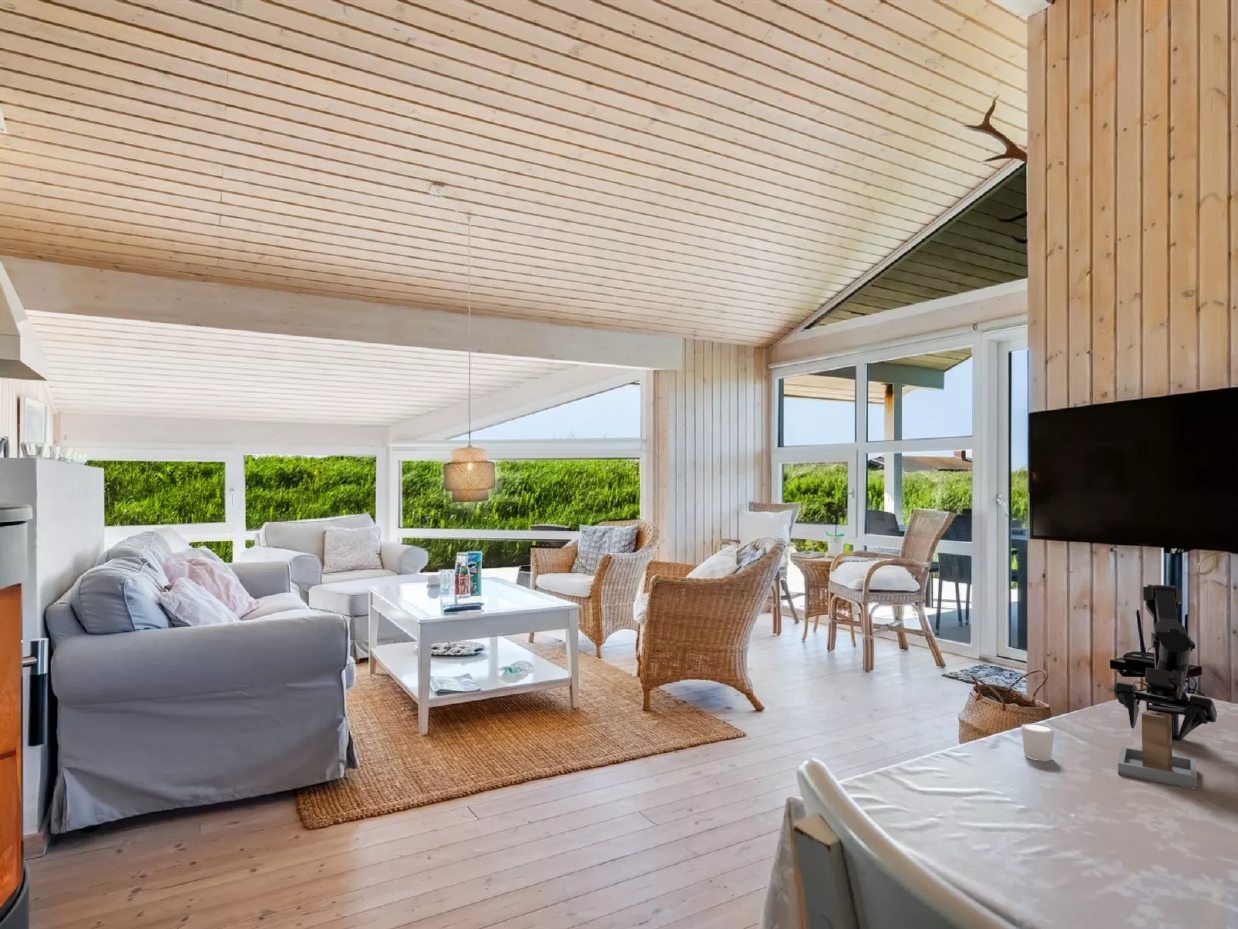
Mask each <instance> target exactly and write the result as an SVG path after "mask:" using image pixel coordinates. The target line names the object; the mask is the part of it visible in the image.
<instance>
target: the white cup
mask: <svg viewBox="0 0 1238 929" xmlns="http://www.w3.org/2000/svg"><path fill="white" fill-rule="evenodd" d="M1020 728H1021V736H1022V744H1023V753H1024V754H1025V755H1026V756H1028V757H1031V758H1033V759H1037V760H1042V761H1041V762H1050V761H1049V760H1051V761H1052V759H1053V756H1052V755H1053V747H1054V736H1055V729H1053V728H1052V727H1050V726H1047V725H1043V724H1038V723H1022V724H1021V725H1020ZM1025 755H1024V756H1025Z"/></svg>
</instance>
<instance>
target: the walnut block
mask: <svg viewBox="0 0 1238 929" xmlns="http://www.w3.org/2000/svg"><path fill="white" fill-rule="evenodd" d="M1141 747H1142V748H1141V750H1142V766H1144V767H1149V768H1155V769H1160V770H1165V771H1170V772H1171V771H1172V770H1173V769H1172V755H1173V739H1172V715H1171V714H1166V713H1161V712H1156V711H1151V710H1146V711H1143V712H1142V713H1141Z"/></svg>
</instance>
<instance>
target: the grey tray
mask: <svg viewBox="0 0 1238 929" xmlns="http://www.w3.org/2000/svg"><path fill="white" fill-rule="evenodd" d="M1119 753H1120V754H1119V756H1118V757H1119V758H1118V761H1117V774H1118V775H1120V776H1121V775H1122V776H1127V777H1131V778H1136V779H1140V780H1147V781H1151V782H1156V783H1162V784H1166V785H1170V784H1173V785H1172V786H1175V785H1179V786H1178V787H1180V786H1184V787H1183V788H1186V787H1188V788H1187V789H1191V788H1195V789H1194V790H1196V789H1197V790H1198V776H1197V759H1195V758H1189V757H1184V756H1178V755H1173V754H1172V769H1173V770H1172V771H1171V772H1170V771H1165V770H1160V769H1155V768H1149V767H1144V766H1142V749H1140V748H1133V747H1128V746H1123V745H1122V746H1121V749H1120V752H1119Z"/></svg>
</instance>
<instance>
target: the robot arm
mask: <svg viewBox="0 0 1238 929" xmlns="http://www.w3.org/2000/svg"><path fill="white" fill-rule="evenodd" d="M1141 588H1142V589H1141V596H1142V597H1141V599H1142V602H1145V605H1144V606H1145V610H1146V611H1147V612H1148V613H1149V615H1150V617H1151V618H1152V629H1153V630H1152V631H1153V632H1151V633H1150V646H1151V648H1153V652H1154V653H1153V654H1154V655H1153V656H1154V668H1151V667H1146V668H1145V675H1144V682H1145V683H1147V684H1146V687H1145V692H1144V691H1139V690H1138V688H1137V685H1136V684H1132V683H1126V682H1122V681H1119V682H1117V683H1115V685H1114V687H1113V691H1114V695H1115V696H1116V699H1117V701H1118V703H1119V704H1121V705H1123V706H1124V708H1126V709H1127V711H1128V718H1129V724H1130V728H1131V729H1135V727H1136V725H1137V720H1138V717H1139V713H1140V706H1139V705H1140V703H1141V701H1142V702H1144V703H1145V704H1144V706H1145V710H1146V711H1147V710H1151V711H1156V712H1161V713H1166V714H1171V715H1172V740H1179V741H1181V740H1183V739H1184V738H1185V737H1186V736H1187V735H1188V734H1189V733H1191V732H1192V731H1193V730H1195V729H1196V728H1197V727H1200V725H1203V724H1205V725H1207V724H1208V722H1209V723H1215V722H1216V721H1217V716H1218V712H1217V709H1216V706H1215V703H1214V701H1213V700H1212V698H1211V697H1210V698H1209V697H1203V696H1199V695H1193V694H1191V695H1190V696H1189V697H1188V695H1187V693H1186V691H1185V687H1184V686H1185V682H1186V679H1187V673H1188V672H1189V670H1188V669H1189V666H1190V662H1189V661H1190V656H1191V652H1193V650H1196V643H1195V642H1194V640H1192V639H1191V636H1189V635H1188V634H1187V630H1186V627H1185V626H1184V625H1182V624H1181V623H1180V622H1179V618H1178V613H1177V612H1178V609H1179V604H1182V602H1183V599H1182V598H1183V597H1182V588H1178V587H1176V586H1175V585H1170V584H1169V585H1168V584H1166V585H1165V584H1164V585H1163V584H1147V586H1143V587H1141ZM1180 715H1181V716H1184V718H1183V721H1182V722H1181V726H1180Z"/></svg>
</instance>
